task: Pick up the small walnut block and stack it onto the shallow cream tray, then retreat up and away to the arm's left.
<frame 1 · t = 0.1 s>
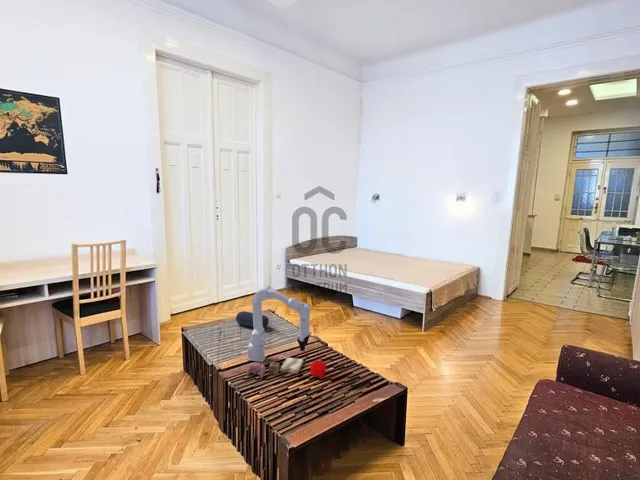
hand: (303, 347, 195), 10 cm above the table, fingers open, 7 cm apart
shallow cream tray: (292, 366, 193), on the table
walnut block: (274, 372, 186), on the table
video game controller: (256, 375, 184), on the table
ball: (317, 375, 185), on the table
portable speaker: (252, 327, 246), on the table
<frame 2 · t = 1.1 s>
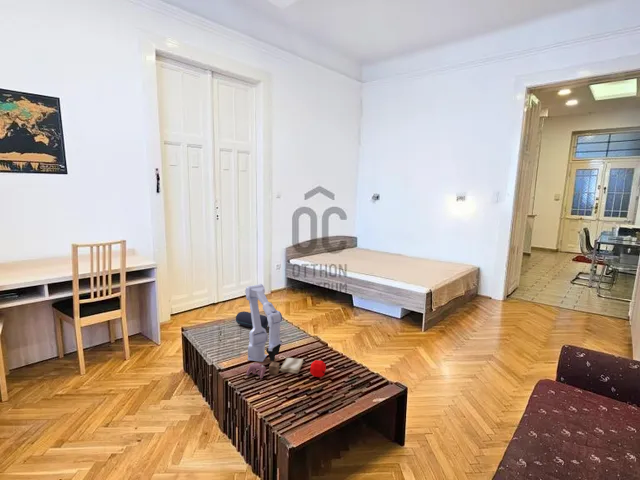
hand: (274, 357, 185), 9 cm above the table, fingers open, 7 cm apart
nothing on the table moved.
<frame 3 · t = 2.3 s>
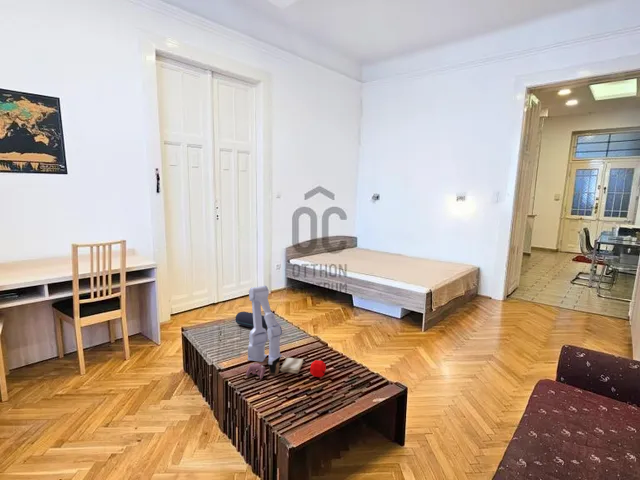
hand: (274, 370, 186), 1 cm above the table, fingers closed on walnut block, 4 cm apart
walnut block: (274, 372, 186), on the table, touching gripper
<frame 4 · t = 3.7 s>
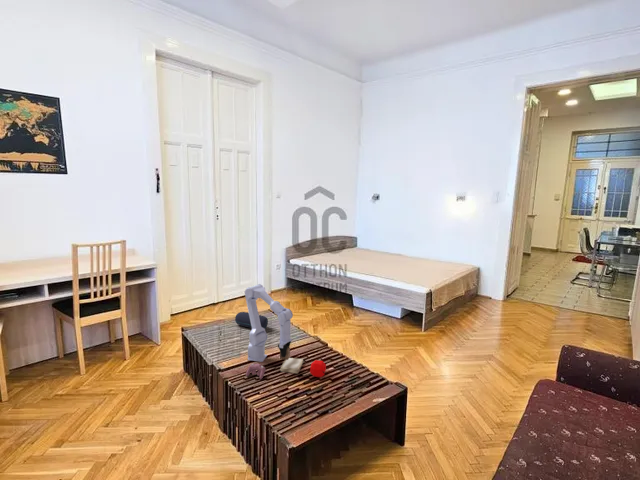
hand: (284, 354, 188), 9 cm above the table, fingers closed on walnut block, 4 cm apart
walnut block: (284, 357, 189), point 7 cm above the table, touching gripper
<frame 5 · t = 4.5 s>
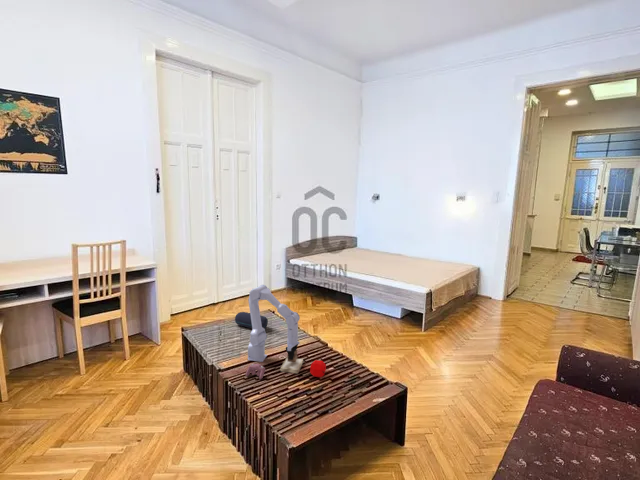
hand: (292, 357, 192), 6 cm above the table, fingers closed on walnut block, 5 cm apart
walnut block: (292, 359, 192), point 4 cm above the table, touching gripper
when the fingers open (5 cm above the table, at t = 5.2 s): walnut block stays where it is, resting on shallow cream tray.
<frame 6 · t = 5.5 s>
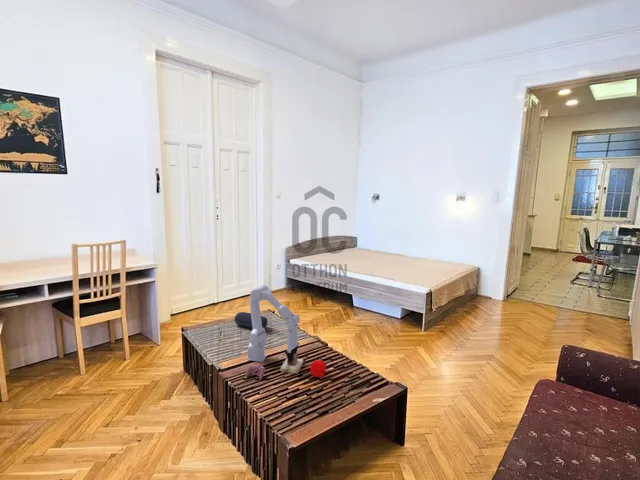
hand: (292, 358, 192), 5 cm above the table, fingers open, 7 cm apart
walnut block: (292, 363, 192), point 2 cm above the table, touching shallow cream tray
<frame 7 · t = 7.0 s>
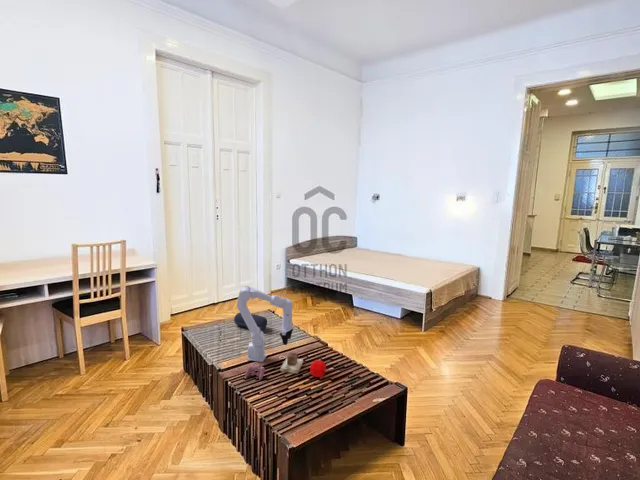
hand: (286, 341, 202), 10 cm above the table, fingers open, 7 cm apart
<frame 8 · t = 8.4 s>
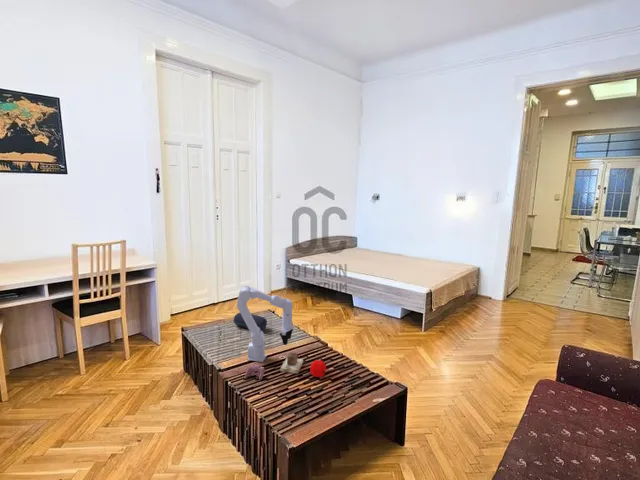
hand: (286, 341, 202), 10 cm above the table, fingers open, 7 cm apart
at the end: walnut block 0.1 cm from the shallow cream tray (horizontally); walnut block point 2.2 cm above the table; the gripper is holding nothing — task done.
